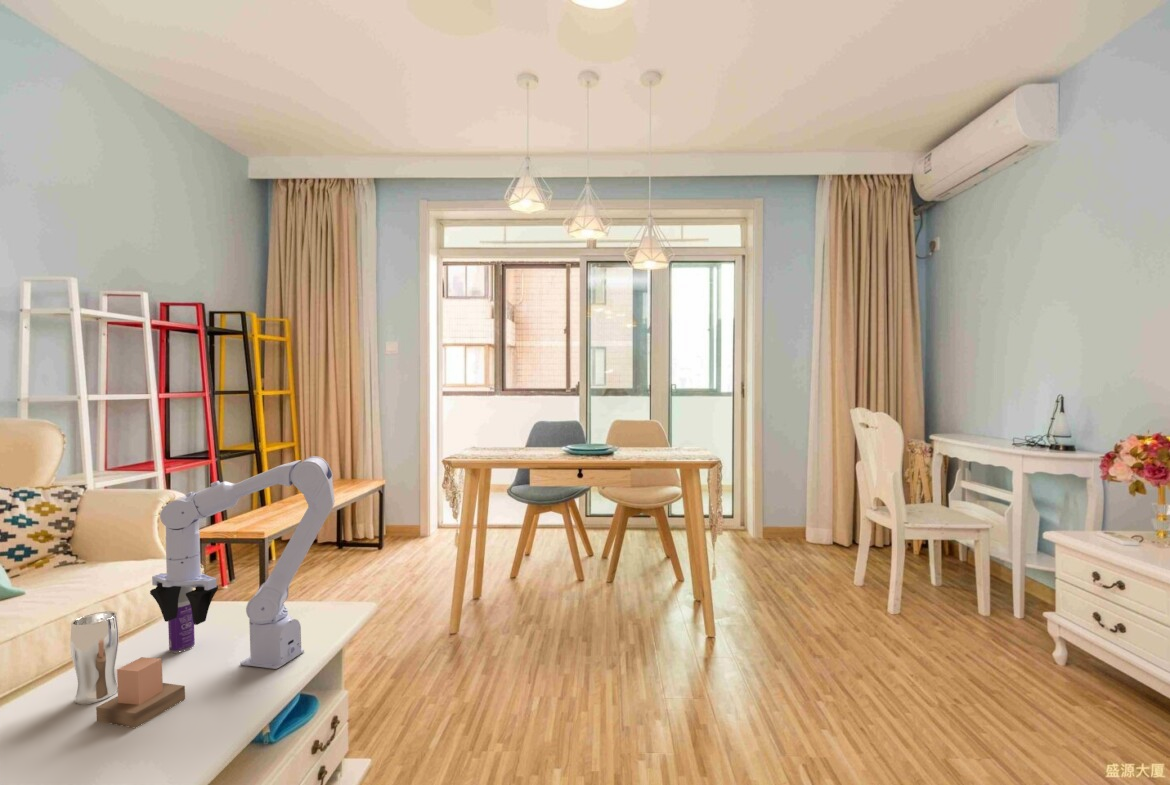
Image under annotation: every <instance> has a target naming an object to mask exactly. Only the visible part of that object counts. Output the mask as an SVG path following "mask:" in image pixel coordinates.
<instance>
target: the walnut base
mask: <svg viewBox="0 0 1170 785" xmlns="http://www.w3.org/2000/svg"><path fill="white" fill-rule="evenodd" d="M184 699H185V700H186V686H185V685H181V684H176V683H175V684H174V683H169V682H168V683H167V682H163V691H162V692H160V693H159V694H157V695H155V696H153V697H152V698H150V699H148V700H147V701H145V702H143V703H141V704H140V705H136V704H126V703H118V695H117V696H115V697H113V698H111V699H109V700H107V701H105V702H103V703H101V704H99V705H98V706H97V705H96V712H95V713H96V722H97V723H103V722H104V724H108V723H112V724H111V725H114V724H117V725H116V726H120V725H123V726H122V727H126V726H129V727H128V728H131V727H135V728H134V729H137V728H138V726H139V727H140V726H142V725H143V723H144V724H146V723H148V722H149V721H151V720H153V719H154V718H156V717H157V716H159V715H161V714H162V713H164V712H166V711H168V710H169V709H170V707H171V708H172V706H173V707H175V706H176V705H177V703H178V704H180V703H181V702H183V701H184ZM180 701H181V702H180ZM179 702H180V703H179ZM175 704H176V705H175ZM167 709H168V710H167ZM165 710H166V711H165ZM141 724H142V725H141ZM136 727H137V728H136Z"/></svg>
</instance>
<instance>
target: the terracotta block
mask: <svg viewBox="0 0 1170 785" xmlns="http://www.w3.org/2000/svg"><path fill="white" fill-rule="evenodd" d="M116 676H117V678H116V683H117V687H118V690H117V696H118V703H126V704H136V705H140V704H141V703H143V702H145V701H147V700H148V699H150V698H152V697H153V696H155V695H157V694H159V693H160V692H162V691H163V683H164V682H163V660H162V658H158V657H157V658H155V657H145V656H144V657H143V656H142V657H140V658H138V659H135V660H134V661H131V662H130V663H126V665H124V666H123V665H122V666H121V667H119V668H117V669H116Z"/></svg>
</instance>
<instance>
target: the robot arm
mask: <svg viewBox="0 0 1170 785" xmlns="http://www.w3.org/2000/svg"><path fill="white" fill-rule="evenodd" d="M333 477H334V475H333V471H332V469H331V467H330V465H329V464H328V462H327V461H326V460H325V459H324V458H322V457H320V456H316V455H315V456H314V455H313V456H308V457H306V458H305V459H303V461H302V460H301V459H300V460H294V461H292V462H287V463H284V464H280V465H278V466H276V467H273V468H271V469H268V470H265V471H263V472H261V473H258V474H255V475H254V476H251V477H249V478H246V479H244V480H242V481H240V482H236V483H234V482H230V481H227V480H224V481H222V482H220V481H219V480H217V481H213V482H211V483H210V486H208V487H206V488H204V489H201V490H198V491H190V492H187V493H185V496H182V497H179V498H177V499H174V500H172V501H170V502H168V503H167V504H166V505H165V506H163V508H162V509H161V511H160V514H159V519H160V521H161V523H162V525H163V526H165V557H166V558H165V561H166V563H165V564H166V568H165V569H166V573H158V574H154V575H152V578H151V580H152V586H153V587H154V586H156V587H155V588H153V589H151V590H149V594H150V595H151V596H152V597H153V599H154V600H155V601H156V602H157V605H158V607H159V609H160V612H161V614H162V617H163V621H164V622H167V623H168V621H170V620H172V619H175V618H177V613H178V599H179V594H180V590H181V587H192V588H195V589H193V591H190V592H188V593H186V596H187V598H188V600H189V602H190V605H191V609H192V618H193V623H194V626H197V625H199V624H201V623H202V624H203V623H204V622H206V620H207V616H208V612H209V609H210V605H211V603H212V601H213V599H214V596H215V594H216V593H217V591H218V590H219V586H218V585H217V578H216V577H214V576H213V577H212V576H210V575H207V574H204V573H202V571H201V568H202V567H201V538H200V536H201V535H200V534H201V532H200V519H206V518H208V517H210V516H214V515H216V514H218V513H221V512H223V511H226V510H229V509H232V508H235V507H236V506H237V504H238V503H239V501H240V499H241V498H242V497H245V496H249V495H251V494H254V493H256V492H259V491H262V490H264V489H267V488H269V487H272V486H277V485H280V486H285V487H291V486H292V485H293V486H294V487H295V488H297V490H298V491H299V492H300V493H301V494H303V496H304V497H303V498H304V499H305V502H306V504H307V505H308V507H307V508H306V510H305V511H304V512H305V513H304V514H303V516H302V518H301V519H300V521H299V523H298V525H297V526H296V528H295V530H294V531H293V534H292V535H291V537H290V538H289V541H288V542H287V544H286V546H285V548H284V549H283V551H282V553H281V555H280V557H279V558H278V560H277V562H276V564H274V565H275V566H274V567H273V569H272V571H271V572H270V574H269V576H268V577H267V579H266V580H265V582H263V583H262V584H261V585H260V586H259V588H258V589H257V591H256V593H255V594H254V595H253V596H252V597H251V598H250V599H249V601H248V602H247V605H246V607H245V613H246V615H247V617H248V620H249V646H250V647H249V648H250V649H249V650H250V656H249V657H246V658H245V659H244V660H242V661H240V662H239V663H240V665H241V666H248V667H256V668H265V669H274V670H276V669H279V668H281V667H283V666H284V665H285V664H287V663H289V662H291V661H292V660H293V659H295V658H296V657H298V656H300V655H301V654H302V653H305V649H304V648H302V629H301V628H302V627H301V623H300V621H299V620H298V619H296V618H293V617H291V616H290V615H289V612H288V611H289V610H288V608H287V607H286V605H285V602H286V600H287V599H288V597H289V595H290V594H289V593H290V590H289V588H290V585H291V583H292V581H293V579H294V577H295V576H296V575H297V572H298V570H299V568H300V567H301V565H302V563H303V561H304V560H305V558H306V556H307V554H308V552H309V550H310V549H311V546H312V545H313V543H314V541H316V540H315V539H316V538H317V537H318V534H319V532H320V531H321V529H322V527H323V525H324V523H325V522H326V520H327V519H328V516H329V515H330V513H331V511H332V509H333V507H334V505H335V502H336V501H335V500H336V499H335V490H334V481H333V479H334V478H333Z"/></svg>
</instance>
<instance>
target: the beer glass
mask: <svg viewBox="0 0 1170 785" xmlns="http://www.w3.org/2000/svg"><path fill="white" fill-rule="evenodd" d="M70 627H71V628H70V638H69V640H70V641H69V643H70V644H69V646H70V648H69V649H70V655H71V659H72V664H73V667H74V671H75V674H76V678H77V691H76V695H75V703H76V704H77V705H83V706H84V705H91V704H95V703H98V702H102V701H104V700H106V699H109V698H110V697H112V696H114V695H115V694H116V693H118V682H117V679H116V674H115V670H116V667H115V666H116V661H117V656H118V651H119V642H120V637H119V636H120V632H119V631H120V630H119V623H118V614H117V612H116V611H112V610H111V611H109V610H108V611H99V612H94V613H89V614H86V615H84V616H81V617H78V618H76V619H74V620H73V621H72V622H71V623H70Z"/></svg>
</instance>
